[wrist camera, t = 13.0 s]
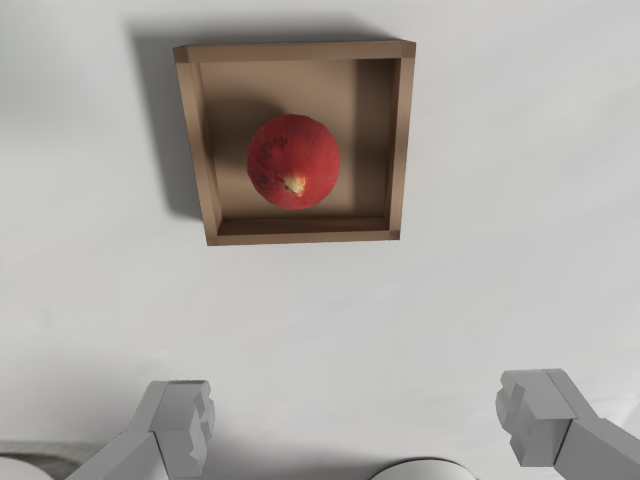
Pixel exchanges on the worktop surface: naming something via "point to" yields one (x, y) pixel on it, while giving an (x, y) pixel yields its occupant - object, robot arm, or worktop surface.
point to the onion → (293, 161)
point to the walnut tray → (309, 100)
